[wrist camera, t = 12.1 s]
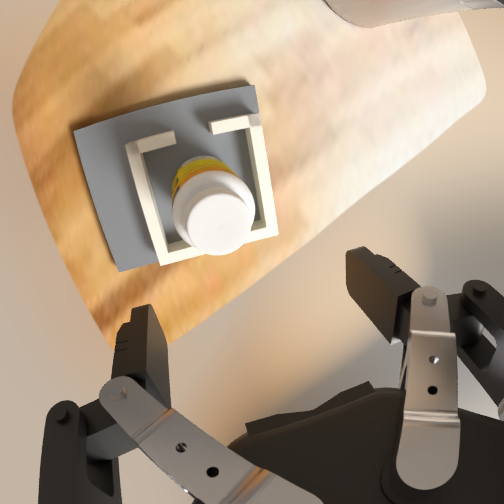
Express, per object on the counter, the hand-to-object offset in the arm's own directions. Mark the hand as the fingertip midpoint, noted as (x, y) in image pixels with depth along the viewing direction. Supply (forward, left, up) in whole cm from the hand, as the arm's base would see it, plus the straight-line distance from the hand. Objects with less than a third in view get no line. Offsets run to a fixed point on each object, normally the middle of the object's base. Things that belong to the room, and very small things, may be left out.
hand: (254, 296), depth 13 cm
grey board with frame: (+2, -1, -19) cm, 19 cm away
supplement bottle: (0, 0, -18) cm, 18 cm away
